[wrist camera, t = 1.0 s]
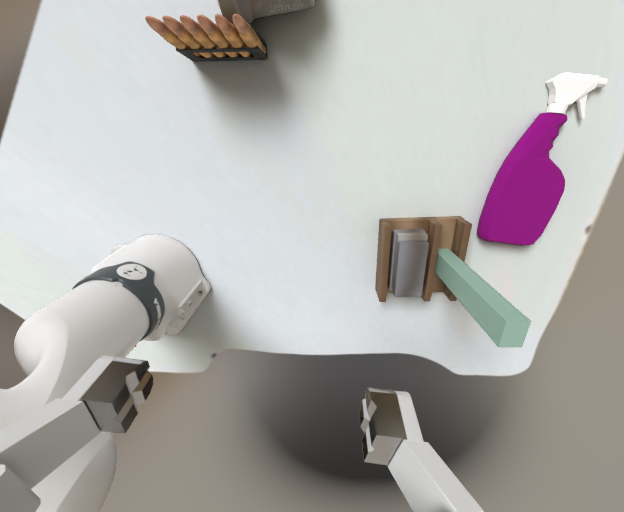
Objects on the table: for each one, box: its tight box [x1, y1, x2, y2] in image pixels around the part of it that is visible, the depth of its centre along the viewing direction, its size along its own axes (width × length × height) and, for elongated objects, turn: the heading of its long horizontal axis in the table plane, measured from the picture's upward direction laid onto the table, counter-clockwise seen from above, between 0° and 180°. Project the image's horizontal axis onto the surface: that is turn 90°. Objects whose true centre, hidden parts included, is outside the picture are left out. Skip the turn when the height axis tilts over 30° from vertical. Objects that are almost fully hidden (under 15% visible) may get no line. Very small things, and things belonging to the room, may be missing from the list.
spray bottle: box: [477, 72, 608, 246], centre depth 41 cm, size 3×11×24 cm
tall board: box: [435, 248, 531, 347], centre depth 38 cm, size 2×4×20 cm
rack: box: [375, 216, 472, 302], centre depth 46 cm, size 14×14×4 cm
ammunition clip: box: [145, 14, 267, 61], centre depth 32 cm, size 11×2×12 cm, turn 91°
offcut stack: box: [388, 229, 429, 297], centre depth 45 cm, size 5×11×4 cm, turn 3°
